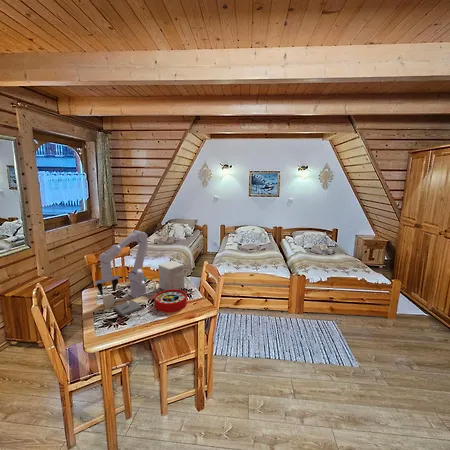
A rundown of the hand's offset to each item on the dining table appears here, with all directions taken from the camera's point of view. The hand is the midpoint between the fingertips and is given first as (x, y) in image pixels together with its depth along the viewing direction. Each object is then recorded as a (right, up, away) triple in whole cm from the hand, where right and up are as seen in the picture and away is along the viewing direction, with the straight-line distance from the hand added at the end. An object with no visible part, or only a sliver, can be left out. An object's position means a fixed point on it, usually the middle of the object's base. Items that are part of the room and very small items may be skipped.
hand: (107, 292), depth 162 cm
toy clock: (+39, -8, +3) cm, 40 cm away
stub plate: (+14, -9, -4) cm, 17 cm away
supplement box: (+34, -4, +28) cm, 44 cm away
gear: (+9, -2, +33) cm, 34 cm away
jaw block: (0, -8, +1) cm, 8 cm away
